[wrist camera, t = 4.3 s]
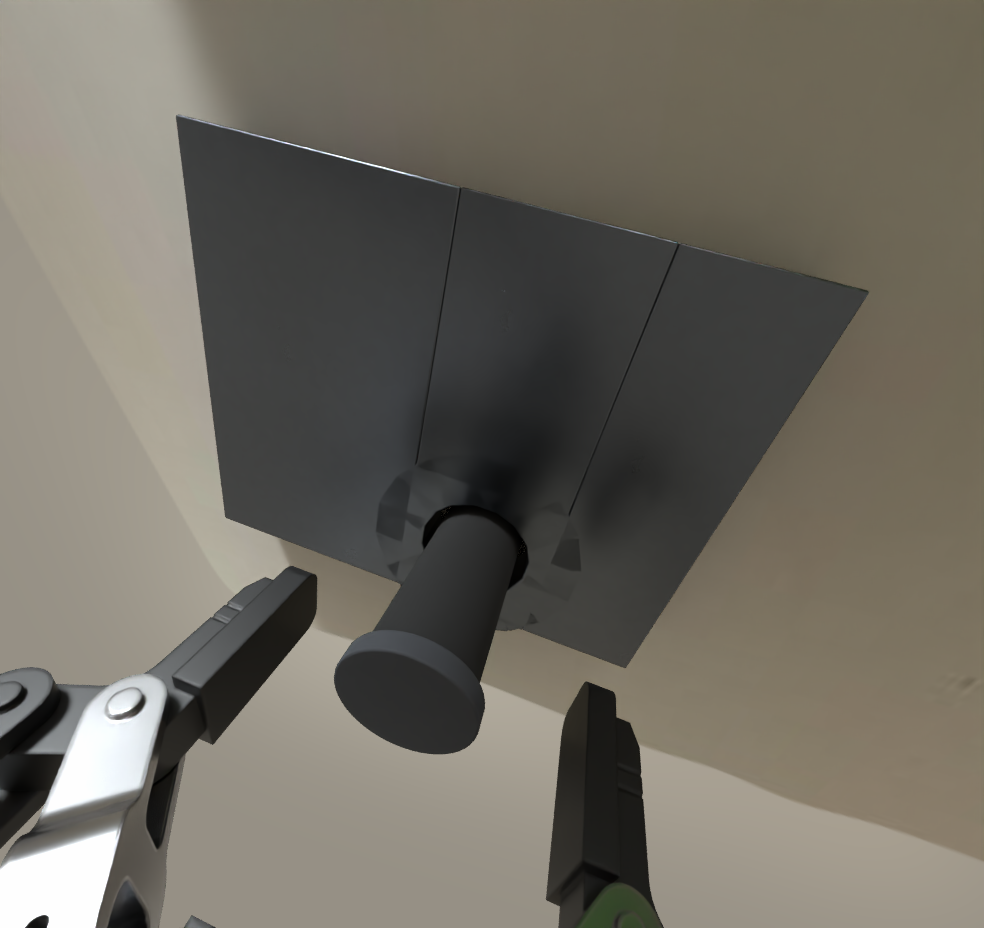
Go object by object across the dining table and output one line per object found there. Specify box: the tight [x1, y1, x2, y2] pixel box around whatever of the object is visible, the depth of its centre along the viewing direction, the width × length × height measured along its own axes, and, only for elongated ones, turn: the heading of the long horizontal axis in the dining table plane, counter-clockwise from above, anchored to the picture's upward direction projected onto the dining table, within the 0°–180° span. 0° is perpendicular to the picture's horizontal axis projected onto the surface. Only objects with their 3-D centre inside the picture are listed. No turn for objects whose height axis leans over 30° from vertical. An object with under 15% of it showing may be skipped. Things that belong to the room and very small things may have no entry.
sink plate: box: [176, 115, 869, 668], centre depth 14 cm, size 18×15×2 cm
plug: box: [334, 505, 522, 754], centre depth 13 cm, size 4×4×8 cm
